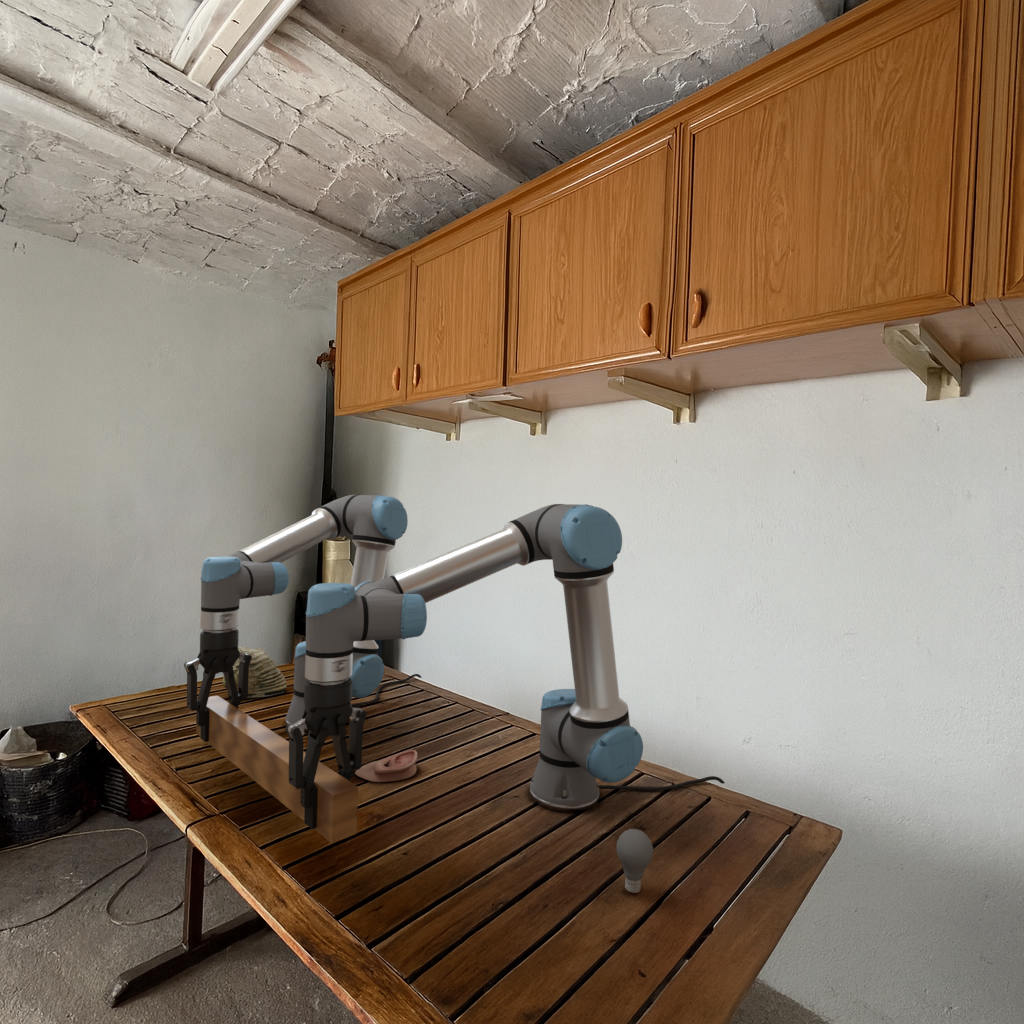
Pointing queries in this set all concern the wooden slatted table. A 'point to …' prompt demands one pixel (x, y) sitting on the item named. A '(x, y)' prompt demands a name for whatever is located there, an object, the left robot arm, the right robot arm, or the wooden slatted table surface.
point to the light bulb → (634, 857)
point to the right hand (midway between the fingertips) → (325, 819)
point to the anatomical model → (390, 768)
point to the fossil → (260, 674)
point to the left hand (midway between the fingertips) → (217, 736)
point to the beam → (280, 768)
